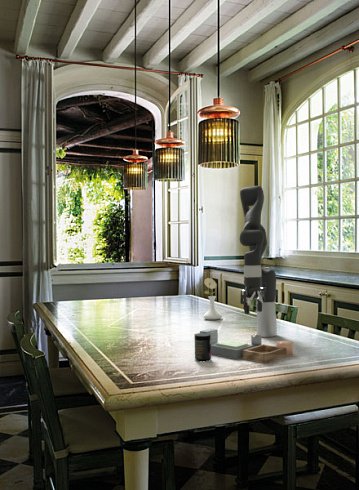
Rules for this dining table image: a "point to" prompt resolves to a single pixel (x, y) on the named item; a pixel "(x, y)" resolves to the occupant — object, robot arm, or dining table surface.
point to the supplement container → (202, 346)
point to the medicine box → (212, 335)
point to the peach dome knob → (286, 346)
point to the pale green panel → (231, 344)
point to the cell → (256, 340)
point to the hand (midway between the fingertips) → (253, 312)
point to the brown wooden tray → (264, 353)
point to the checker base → (229, 351)
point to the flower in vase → (211, 301)
